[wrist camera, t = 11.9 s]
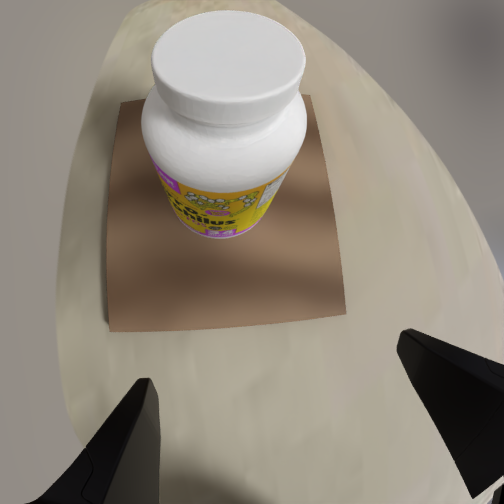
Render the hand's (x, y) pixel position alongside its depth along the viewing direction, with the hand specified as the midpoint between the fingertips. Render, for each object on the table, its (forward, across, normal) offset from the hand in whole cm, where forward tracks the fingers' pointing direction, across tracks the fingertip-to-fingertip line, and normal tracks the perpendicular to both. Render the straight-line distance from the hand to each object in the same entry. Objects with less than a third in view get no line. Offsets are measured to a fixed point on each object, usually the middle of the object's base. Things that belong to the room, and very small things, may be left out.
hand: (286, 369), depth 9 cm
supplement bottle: (+13, +1, -3) cm, 14 cm away
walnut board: (+14, +1, -3) cm, 14 cm away
